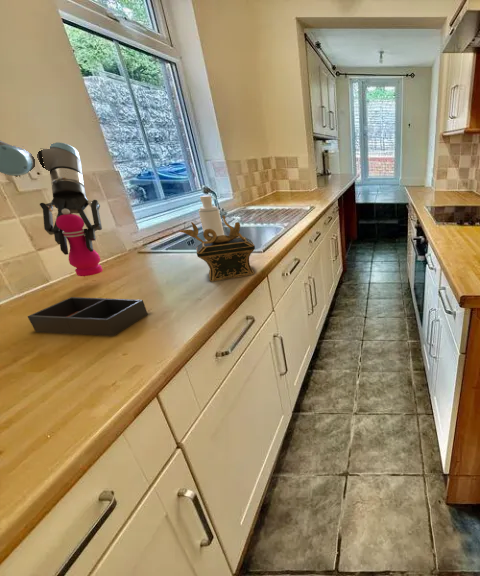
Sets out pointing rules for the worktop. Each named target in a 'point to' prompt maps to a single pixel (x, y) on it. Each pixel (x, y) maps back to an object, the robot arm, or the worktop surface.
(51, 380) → the worktop surface
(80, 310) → the divided tray
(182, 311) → the worktop surface
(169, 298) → the worktop surface
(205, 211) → the cream bottle
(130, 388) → the worktop surface
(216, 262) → the decorative box
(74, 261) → the pepper mill
